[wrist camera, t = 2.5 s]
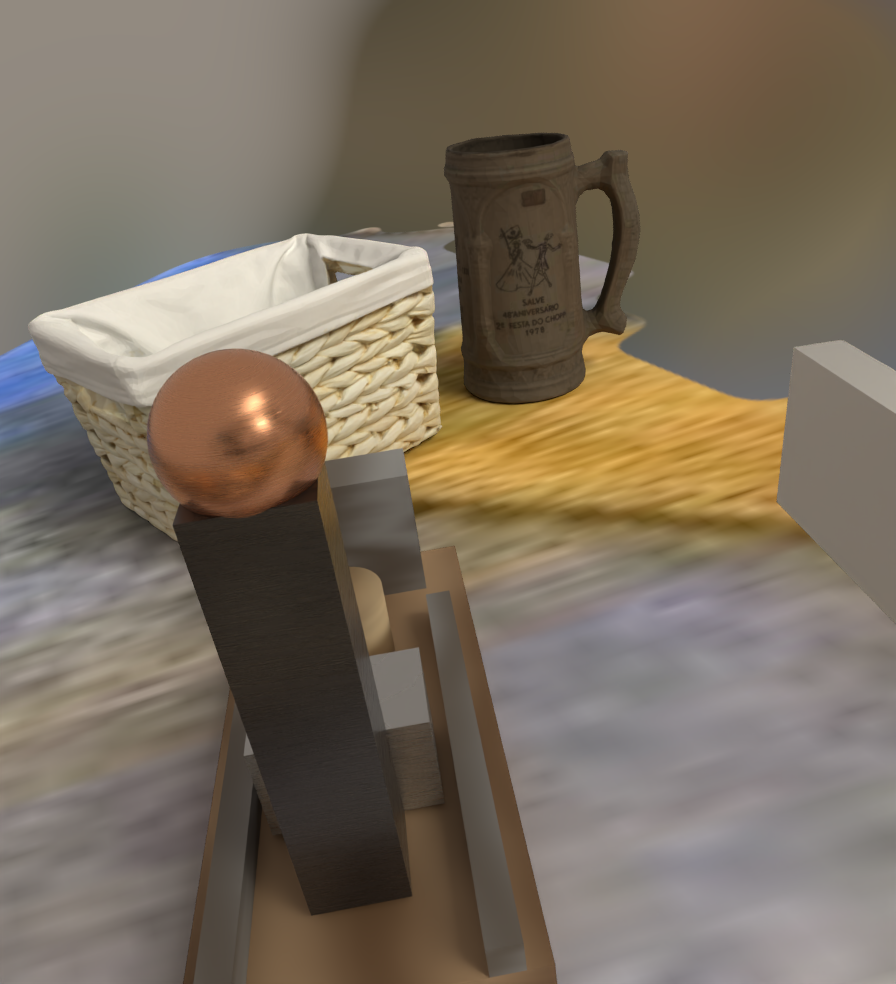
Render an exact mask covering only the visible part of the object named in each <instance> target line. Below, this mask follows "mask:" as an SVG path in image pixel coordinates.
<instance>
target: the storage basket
mask: <svg viewBox="0 0 896 984" xmlns="http://www.w3.org/2000/svg"><path fill="white" fill-rule="evenodd" d="M337 271H338V272H341V273H342V272H343V273H346V274H348V275H349V274H351V275H356V276H353V277H350V278H347V279H344V280H341V281H337V278H336V275H335V273H336V272H337ZM432 284H433V278H432V272H431V267H430V265H429V260H428V255H427V252H426V251H425V250H424V249H422V248H420V247H408V246H403V245H397V244H390V243H384V242H377V241H371V240H362V239H353V238H345V237H338V236H331V235H328V236H319V235H313V234H307V233H306V234H299V235H295V236H293V237H292V238H291V239H288V240H285V241H281V242H278V243H275V244H271V245H267V246H263V247H260V248H256V249H253V250H250V251H246V252H243V253H240V254H237V255H234V256H231V257H228V258H225V259H222V260H219V261H216V262H213V263H210V264H207V265H204V266H201V267H198V268H195V269H192V270H189V271H186V272H183V273H180V274H177V275H174V276H170V277H167V278H164V279H161V280H158V281H154V282H151V283H147V284H144V285H141V286H137V287H134V288H130V289H127V290H124V291H120V292H117V293H114V294H111V295H107V296H104V297H100V298H97V299H94V300H91V301H87V302H84V303H81V304H77V305H74V306H71V307H68V308H65V309H61V310H56V311H51V312H47V313H44V314H42V315H39V316H38V317H37V318H35V319H34V320H32V321H31V322H30V323H29V325H28V328H29V333H30V335H31V336H32V339H33V341H34V343H35V345H36V346H37V349H38V351H39V355H40V359H41V361H42V364H43V366H44V368H45V370H46V371H47V372H48V373H50V374H53V375H54V376H55V378H56V380H57V382H58V383H59V384H60V385H62V386H63V387H64V394H65V396H66V397H67V398H68V399H69V401H70V402H71V403H72V406H73V410H74V413H75V415H76V417H77V419H78V420H79V421H80V423H81V425H82V427H83V428H84V429H85V430H87V434H88V438H89V441H90V443H91V445H92V446H93V447H94V450H95V453H96V454H97V455H98V456H99V457H101V463H102V465H103V466H104V468H105V469H106V470H107V473H108V476H109V478H110V480H111V481H112V482H113V485H114V488H115V491H116V493H117V494H118V495H119V497H120V500H121V502H122V503H123V504H124V505H125V506H126V507H128V508H129V509H131V510H133V511H135V512H136V513H137V514H138V515H139V516H141V517H142V518H144V519H146V520H148V521H149V522H150V523H151V524H152V525H153V526H155V527H156V528H158V529H159V530H161V531H163V532H165V533H166V534H167V535H168V536H170V537H171V538H172V539H174V540H176V541H178V540H177V537H176V534H175V531H174V528H173V526H172V525H173V522H174V519H175V516H176V513H177V510H178V507H179V504H180V503H179V502H178V501H177V500H175V499H174V498H173V497H172V496H171V495H170V493H169V492H168V491H167V490H166V489H165V487H164V486H163V485H162V483H161V482H160V480H159V478H158V477H157V475H156V473H155V471H154V468H153V466H152V463H151V460H150V456H149V453H148V446H147V423H148V418H149V413H150V410H151V407H152V404H153V402H154V399H155V397H156V395H157V394H158V392H159V390H160V388H161V387H162V386H163V384H164V383H165V382H166V380H167V379H168V378H169V377H170V376H171V375H172V374H173V373H174V372H175V371H176V370H177V369H178V368H180V367H181V366H183V365H184V364H186V363H187V362H189V361H190V360H192V359H194V358H196V357H198V356H201V355H203V354H206V353H209V352H212V351H217V350H223V349H234V348H239V349H248V350H255V351H259V352H262V353H266V354H269V355H271V356H273V357H276V358H278V359H280V360H282V361H283V362H285V363H286V364H288V365H289V366H291V367H292V368H294V369H295V370H296V371H297V372H298V373H299V374H300V375H302V377H303V378H304V379H305V380H306V381H307V382H308V383H309V384H310V386H311V387H312V389H313V390H314V392H315V393H316V395H317V397H318V399H319V401H320V403H321V405H322V408H323V411H324V414H325V417H326V423H327V430H328V446H327V453H326V459H325V461H328V460H334V459H340V458H346V457H352V456H358V455H364V454H370V453H376V452H382V451H388V450H394V449H400V448H403V452H405V451H407V450H408V449H410V448H411V447H415V446H417V445H419V444H420V443H421V442H422V441H424V440H425V439H427V438H429V437H431V436H433V435H435V434H437V432H438V431H439V430H440V429H441V427H442V426H441V425H440V424H441V420H440V406H439V392H438V378H437V375H436V363H437V359H436V349H435V346H434V343H435V340H434V318H433V317H432V314H433V312H434V309H435V305H434V293H433V291H432Z"/></svg>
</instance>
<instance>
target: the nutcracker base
mask: <svg viewBox="0 0 896 984" xmlns="http://www.w3.org/2000/svg"><path fill="white" fill-rule="evenodd" d="M325 465H326V469H327V473H328V478H329V482H330V486H331V491H332V495H333V500H334V504H335V508H336V513H337V517H338V522H339V526H340V530H341V535H342V539H343V543H344V548H345V552H346V557H347V561H348V565H349V567H361V568H365V569H368V570H370V571H372V572H374V573H375V574H376V575H377V576H378V577H379V578H380V580H381V582H382V587H383V592H384V597H385V602H386V607H387V612H388V617H389V621H390V626H391V631H392V636H393V641H394V646H395V651H401V650H406V649H412V648H418V647H419V651H420V656H421V662H422V667H423V673H424V678H425V684H426V689H427V694H428V700H429V705H430V711H431V716H432V721H433V727H434V734H435V741H436V748H437V755H438V761H439V768H440V775H441V782H442V789H443V796H444V804H439V805H433V806H428V807H423V808H417V809H412V810H407V811H405V821H406V832H407V843H408V853H409V864H410V875H411V886H412V896H411V897H406V898H401V899H396V900H391V901H386V902H380V903H375V904H370V905H365V906H360V907H355V908H349V909H344V910H339V911H334V912H329V913H324V914H318V915H313V916H311V914H310V911H309V908H308V905H307V902H306V900H305V897H304V894H303V891H302V888H301V886H300V883H299V880H298V877H297V874H296V872H295V869H294V866H293V863H292V860H291V857H290V855H289V852H288V849H287V846H286V843H285V841H284V838H283V835H282V834H280V835H274V836H273V835H272V832H271V830H270V827H269V824H268V821H267V819H266V816H265V813H264V810H263V808H262V805H261V802H260V799H259V797H258V794H257V791H256V789H255V786H254V783H253V780H252V778H251V775H250V772H249V769H248V767H247V764H246V761H245V758H244V748H245V740H246V731H245V728H244V725H243V722H242V720H241V717H240V714H239V711H238V708H237V706H236V703H235V700H234V697H233V694H232V692H231V689H230V691H229V697H228V704H227V710H226V716H225V723H224V729H223V735H222V742H221V748H220V754H219V760H218V767H217V773H216V779H215V786H214V792H213V798H212V805H211V811H210V817H209V824H208V830H207V836H206V842H205V849H204V855H203V861H202V868H201V874H200V880H199V887H198V893H197V899H196V906H195V912H194V918H193V925H192V931H191V937H190V943H189V950H188V956H187V962H186V969H185V975H184V981H183V984H557V980H556V969H555V962H554V958H553V954H552V950H551V946H550V941H549V937H548V933H547V929H546V925H545V921H544V916H543V912H542V908H541V904H540V900H539V896H538V891H537V887H536V883H535V879H534V875H533V870H532V866H531V862H530V858H529V854H528V850H527V845H526V841H525V837H524V833H523V829H522V825H521V820H520V816H519V812H518V808H517V804H516V800H515V795H514V791H513V787H512V783H511V779H510V774H509V770H508V766H507V762H506V758H505V754H504V749H503V745H502V741H501V737H500V733H499V729H498V724H497V720H496V716H495V712H494V708H493V704H492V699H491V695H490V691H489V687H488V683H487V678H486V674H485V670H484V666H483V662H482V658H481V653H480V649H479V645H478V641H477V637H476V633H475V628H474V624H473V620H472V616H471V612H470V608H469V603H468V599H467V595H466V591H465V587H464V582H463V578H462V574H461V570H460V566H459V562H458V557H457V553H456V549H455V546H451V547H445V548H439V549H434V550H428V551H422V552H420V546H419V540H418V535H417V529H416V523H415V517H414V511H413V505H412V499H411V493H410V488H409V482H408V476H407V470H406V464H405V458H404V452H403V448H400V449H394V450H388V451H382V452H376V453H370V454H364V455H358V456H352V457H346V458H340V459H334V460H328V461H325Z"/></svg>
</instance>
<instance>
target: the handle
mask: <svg viewBox="0 0 896 984" xmlns="http://www.w3.org/2000/svg"><path fill="white" fill-rule="evenodd" d="M147 446H148V453H149V456H150V460H151V463H152V466H153V468H154V471H155V473H156V475H157V477H158V478H159V480H160V482H161V483H162V485H163V486H164V487H165V489H166V490H167V491H168V492H169V493H170V495H171V496H172V497H173V498H174V499H175V500H177V501H178V502H179V503H180V504H179V507H178V510H177V513H176V516H175V519H174V522H173V525H172V526H173V528H174V531H175V534H176V537H177V540H178V542H179V545H180V548H181V551H182V554H183V556H184V559H185V562H186V565H187V568H188V571H189V573H190V576H191V579H192V582H193V585H194V587H195V590H196V593H197V596H198V599H199V601H200V604H201V607H202V610H203V613H204V616H205V618H206V621H207V624H208V627H209V630H210V632H211V635H212V638H213V641H214V644H215V647H216V649H217V652H218V655H219V658H220V661H221V663H222V666H223V669H224V672H225V675H226V677H227V680H228V683H229V686H230V689H231V692H232V694H233V697H234V700H235V703H236V706H237V708H238V711H239V714H240V717H241V720H242V722H243V725H244V728H245V731H246V740H245V748H244V758H245V761H246V764H247V767H248V769H249V772H250V775H251V778H252V780H253V783H254V786H255V789H256V791H257V794H258V797H259V799H260V802H261V805H262V808H263V810H264V813H265V816H266V819H267V821H268V824H269V827H270V830H271V832H272V835H273V836H274V835H280V834H282V835H283V838H284V841H285V843H286V846H287V849H288V852H289V855H290V857H291V860H292V863H293V866H294V869H295V872H296V874H297V877H298V880H299V883H300V886H301V888H302V891H303V894H304V897H305V900H306V902H307V905H308V908H309V911H310V914H311V916H313V915H318V914H324V913H329V912H334V911H339V910H344V909H349V908H355V907H360V906H365V905H370V904H375V903H380V902H386V901H391V900H396V899H401V898H406V897H411V896H412V886H411V875H410V864H409V853H408V843H407V832H406V821H405V811H407V810H412V809H417V808H423V807H428V806H433V805H439V804H444V796H443V789H442V782H441V775H440V768H439V761H438V755H437V748H436V741H435V734H434V727H433V721H432V716H431V711H430V705H429V700H428V694H427V689H426V684H425V678H424V673H423V667H422V662H421V656H420V651H419V647H418V648H412V649H406V650H401V651H395V652H390V653H384V654H378V655H373V656H369V653H368V649H367V644H366V640H365V635H364V631H363V627H362V622H361V618H360V614H359V609H358V605H357V600H356V596H355V592H354V587H353V583H352V578H351V574H350V570H349V565H348V561H347V557H346V552H345V548H344V543H343V539H342V535H341V530H340V526H339V522H338V517H337V513H336V508H335V504H334V500H333V495H332V491H331V486H330V482H329V478H328V473H327V469H326V465H325V459H326V453H327V446H328V430H327V423H326V417H325V414H324V411H323V408H322V405H321V403H320V401H319V399H318V397H317V395H316V393H315V392H314V390H313V389H312V387H311V386H310V384H309V383H308V382H307V381H306V380H305V379H304V378H303V377H302V375H300V374H299V373H298V372H297V371H296V370H295V369H294V368H292V367H291V366H289V365H288V364H286V363H285V362H283V361H282V360H280V359H278V358H276V357H273V356H271V355H269V354H266V353H262V352H259V351H255V350H248V349H239V348H234V349H223V350H217V351H212V352H209V353H206V354H203V355H201V356H198V357H196V358H194V359H192V360H190V361H189V362H187V363H186V364H184V365H183V366H181V367H180V368H178V369H177V370H176V371H175V372H174V373H173V374H172V375H171V376H170V377H169V378H168V379H167V380H166V382H165V383H164V384H163V386H162V387H161V388H160V390H159V392H158V394H157V395H156V397H155V399H154V402H153V404H152V407H151V410H150V413H149V418H148V423H147Z"/></svg>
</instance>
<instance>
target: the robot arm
mask: <svg viewBox="0 0 896 984" xmlns="http://www.w3.org/2000/svg"><path fill="white" fill-rule="evenodd" d="M777 503H778V504H779V505H780V506H781V507H782V508H783V509H784V510H785V511H786V512H787V513H788V514H789V515H790V516H791V517H792V518H793V519H794V520H795V521H796V522H797V523H798V524H799V525H800V526H801V527H802V528H803V529H804V530H805V531H806V532H807V533H808V534H809V536H810V537H811V538H812V539H813V540H814V541H815V542H816V543H817V544H818V545H819V546H820V547H821V548H822V549H823V550H824V551H825V552H826V553H827V554H828V555H829V556H830V557H831V558H832V559H833V560H834V561H835V562H836V563H837V564H838V565H839V566H840V567H841V568H842V569H843V570H844V572H845V573H846V574H847V575H848V576H849V577H850V578H851V579H852V580H853V581H854V582H855V583H856V584H857V585H858V586H859V587H860V588H861V589H862V590H863V591H864V592H865V593H866V594H867V595H868V596H869V597H870V598H871V599H872V600H873V601H874V602H875V603H876V604H877V605H878V606H879V608H880V609H881V610H882V611H883V612H884V613H885V614H886V615H887V616H888V617H889V618H890V619H891V620H892V621H893V622H894V623H895V624H896V371H895V370H893V369H892V368H890V367H888V366H886V365H885V364H883V363H881V362H880V361H878V360H876V359H874V358H873V357H871V356H869V355H867V354H866V353H864V352H862V351H860V350H858V349H857V348H855V347H853V346H852V345H850V344H848V343H847V342H845V341H843V340H838V341H831V342H825V343H819V344H812V345H806V346H799V347H794V352H793V359H792V368H791V378H790V387H789V395H788V404H787V413H786V422H785V431H784V440H783V449H782V458H781V467H780V476H779V485H778V494H777Z"/></svg>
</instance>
